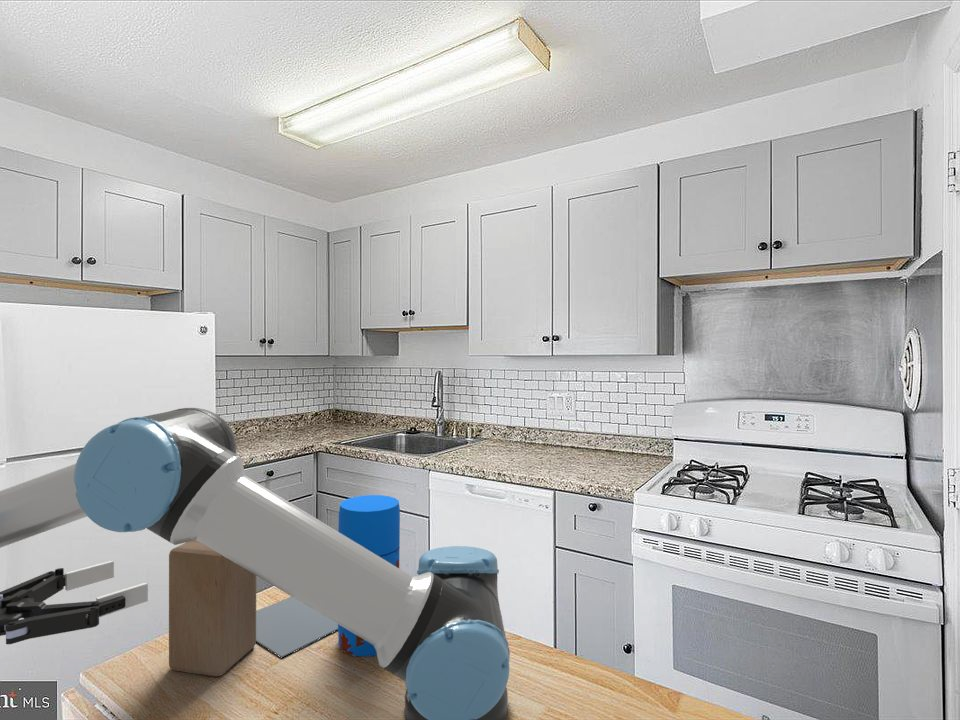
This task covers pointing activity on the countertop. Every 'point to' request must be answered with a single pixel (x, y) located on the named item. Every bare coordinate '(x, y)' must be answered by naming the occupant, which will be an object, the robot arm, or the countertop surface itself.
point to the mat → (290, 626)
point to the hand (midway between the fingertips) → (129, 579)
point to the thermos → (369, 546)
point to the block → (209, 610)
